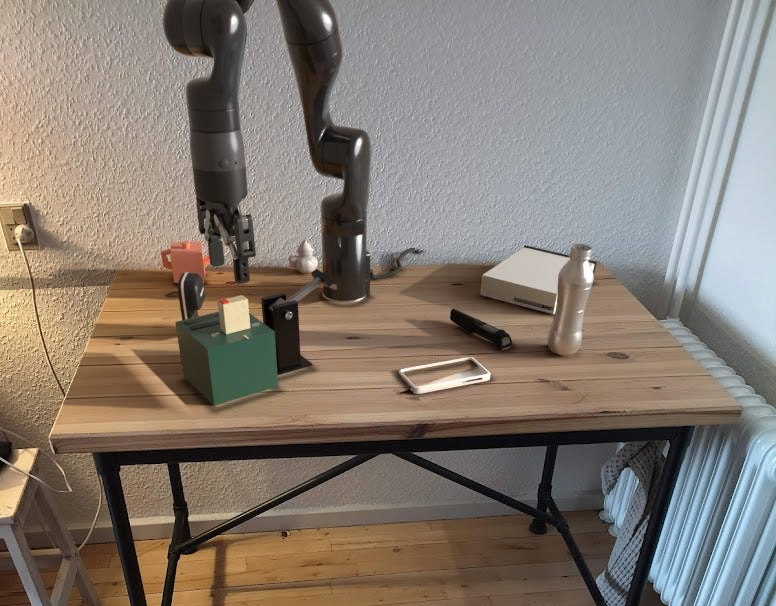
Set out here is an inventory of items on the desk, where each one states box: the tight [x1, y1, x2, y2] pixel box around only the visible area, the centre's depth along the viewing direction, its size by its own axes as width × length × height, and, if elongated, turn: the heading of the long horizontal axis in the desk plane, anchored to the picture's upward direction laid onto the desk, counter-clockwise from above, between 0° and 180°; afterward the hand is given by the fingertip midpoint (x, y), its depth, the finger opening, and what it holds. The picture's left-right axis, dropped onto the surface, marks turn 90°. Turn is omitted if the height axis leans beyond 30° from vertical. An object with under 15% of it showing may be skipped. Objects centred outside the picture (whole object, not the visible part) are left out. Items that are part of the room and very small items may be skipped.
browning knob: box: [217, 295, 250, 334], centre depth 124 cm, size 4×2×5 cm, turn 126°
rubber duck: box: [288, 237, 319, 274], centre depth 173 cm, size 5×7×8 cm
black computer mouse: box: [177, 272, 206, 320], centre depth 145 cm, size 7×4×11 cm, turn 2°
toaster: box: [175, 311, 279, 406], centre depth 129 cm, size 12×12×11 cm
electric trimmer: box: [449, 308, 513, 351], centre depth 151 cm, size 4×16×3 cm, turn 39°
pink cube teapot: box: [160, 240, 210, 285], centre depth 167 cm, size 8×12×8 cm, turn 102°
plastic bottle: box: [546, 243, 595, 356], centre depth 141 cm, size 6×7×20 cm
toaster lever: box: [268, 268, 334, 316], centre depth 133 cm, size 12×5×2 cm, turn 126°
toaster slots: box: [183, 313, 220, 330], centre depth 128 cm, size 9×4×1 cm, turn 126°
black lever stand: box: [260, 292, 313, 377], centre depth 135 cm, size 8×7×13 cm
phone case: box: [398, 356, 491, 395], centre depth 137 cm, size 7×1×15 cm
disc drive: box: [479, 244, 598, 315], centre depth 170 cm, size 18×22×5 cm
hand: (229, 273), depth 120 cm, fingers open, 8 cm apart
